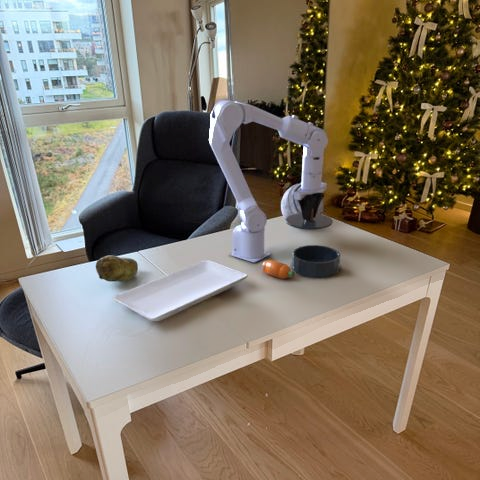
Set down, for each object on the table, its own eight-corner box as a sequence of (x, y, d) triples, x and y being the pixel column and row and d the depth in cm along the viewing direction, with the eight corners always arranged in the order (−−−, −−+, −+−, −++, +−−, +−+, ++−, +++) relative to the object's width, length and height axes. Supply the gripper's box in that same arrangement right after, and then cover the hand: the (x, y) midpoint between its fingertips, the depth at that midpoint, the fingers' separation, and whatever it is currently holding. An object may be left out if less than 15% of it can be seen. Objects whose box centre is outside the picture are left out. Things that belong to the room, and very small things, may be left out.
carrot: (259, 274, 125) (259, 260, 123) (267, 269, 128) (268, 256, 126) (288, 283, 120) (288, 269, 118) (296, 278, 123) (297, 265, 121)
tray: (112, 308, 110) (110, 295, 108) (207, 269, 129) (206, 258, 127) (154, 333, 99) (152, 319, 98) (249, 286, 119) (249, 274, 117)
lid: (280, 228, 132) (280, 213, 130) (292, 214, 143) (292, 200, 141) (327, 233, 128) (329, 217, 125) (336, 218, 139) (337, 204, 137)
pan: (287, 274, 125) (287, 259, 123) (298, 257, 135) (299, 243, 133) (334, 280, 121) (336, 265, 119) (341, 262, 132) (343, 248, 129)
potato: (148, 278, 124) (145, 251, 120) (106, 292, 117) (101, 264, 113) (133, 269, 129) (129, 243, 125) (92, 282, 122) (86, 255, 118)
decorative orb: (297, 235, 152) (299, 191, 144) (272, 224, 162) (273, 182, 155) (329, 227, 159) (333, 184, 151) (303, 216, 169) (305, 176, 162)
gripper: (310, 179, 121) (307, 227, 128) (337, 169, 130) (332, 214, 137) (288, 175, 125) (286, 222, 132) (316, 166, 134) (313, 210, 141)
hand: (309, 218), depth 135 cm, fingers closed on lid, 2 cm apart
